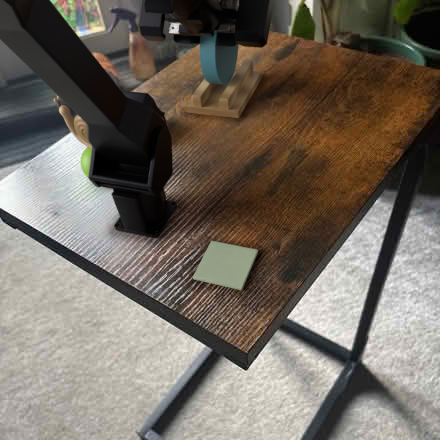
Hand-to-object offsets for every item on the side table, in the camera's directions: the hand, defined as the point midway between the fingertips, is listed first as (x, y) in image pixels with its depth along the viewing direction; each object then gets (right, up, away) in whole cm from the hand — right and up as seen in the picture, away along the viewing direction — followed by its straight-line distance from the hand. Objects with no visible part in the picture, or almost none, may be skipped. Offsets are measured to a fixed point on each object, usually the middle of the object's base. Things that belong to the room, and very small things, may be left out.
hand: (222, 41), depth 71 cm
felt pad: (0, -36, -17) cm, 40 cm away
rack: (0, -6, +6) cm, 8 cm away
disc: (0, -1, 0) cm, 1 cm away
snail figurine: (-17, -22, -4) cm, 29 cm away
